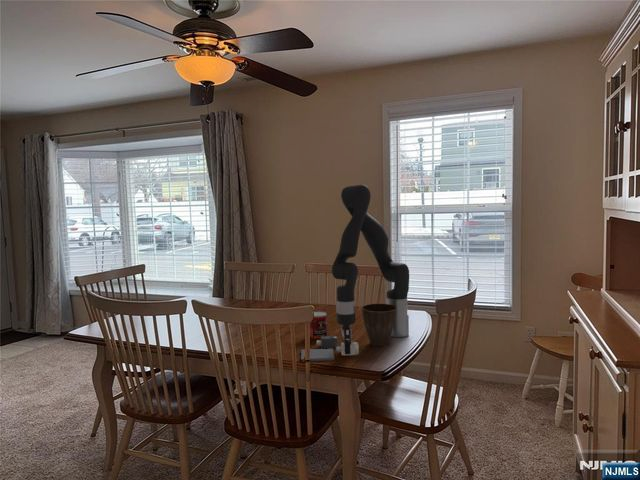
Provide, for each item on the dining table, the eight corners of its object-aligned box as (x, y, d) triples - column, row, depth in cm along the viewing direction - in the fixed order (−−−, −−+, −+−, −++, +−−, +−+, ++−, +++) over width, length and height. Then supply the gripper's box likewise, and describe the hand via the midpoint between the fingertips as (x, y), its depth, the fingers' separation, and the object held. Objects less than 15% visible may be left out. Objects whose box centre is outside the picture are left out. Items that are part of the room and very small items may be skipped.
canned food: (313, 340, 201) (312, 316, 200) (308, 335, 208) (308, 312, 207) (329, 338, 203) (328, 315, 202) (324, 333, 210) (323, 310, 209)
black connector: (337, 345, 193) (337, 335, 193) (338, 348, 190) (337, 338, 189) (316, 346, 193) (316, 336, 193) (316, 348, 190) (316, 339, 189)
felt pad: (333, 350, 187) (332, 348, 187) (334, 360, 176) (334, 357, 176) (301, 351, 186) (301, 349, 186) (301, 361, 175) (301, 358, 175)
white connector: (358, 351, 185) (358, 341, 184) (359, 354, 181) (358, 344, 181) (336, 352, 184) (336, 342, 184) (336, 355, 181) (336, 345, 180)
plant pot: (374, 336, 204) (373, 301, 203) (403, 342, 195) (403, 306, 193) (355, 345, 193) (354, 308, 191) (385, 351, 183) (384, 313, 182)
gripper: (356, 315, 174) (357, 356, 176) (353, 306, 188) (354, 344, 190) (337, 316, 174) (338, 356, 175) (335, 307, 188) (336, 345, 190)
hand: (346, 350), depth 183 cm, fingers open, 8 cm apart
